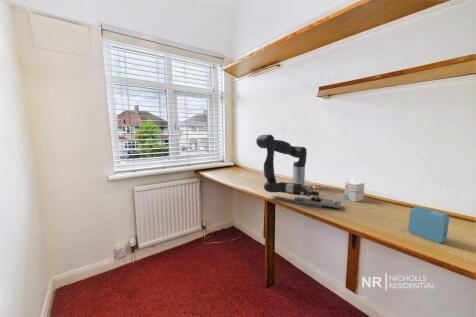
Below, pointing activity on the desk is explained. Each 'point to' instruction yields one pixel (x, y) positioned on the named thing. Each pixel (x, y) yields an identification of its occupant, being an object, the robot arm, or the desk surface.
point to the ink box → (354, 190)
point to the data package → (428, 224)
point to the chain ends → (317, 204)
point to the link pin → (316, 189)
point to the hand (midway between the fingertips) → (319, 192)
